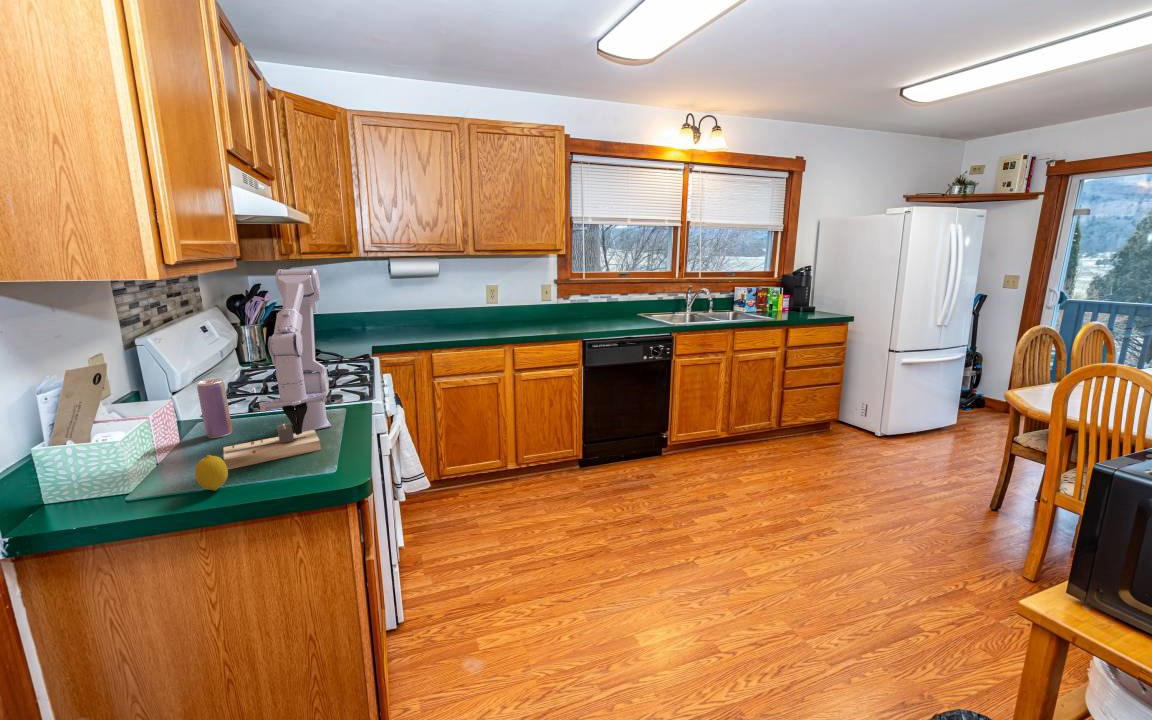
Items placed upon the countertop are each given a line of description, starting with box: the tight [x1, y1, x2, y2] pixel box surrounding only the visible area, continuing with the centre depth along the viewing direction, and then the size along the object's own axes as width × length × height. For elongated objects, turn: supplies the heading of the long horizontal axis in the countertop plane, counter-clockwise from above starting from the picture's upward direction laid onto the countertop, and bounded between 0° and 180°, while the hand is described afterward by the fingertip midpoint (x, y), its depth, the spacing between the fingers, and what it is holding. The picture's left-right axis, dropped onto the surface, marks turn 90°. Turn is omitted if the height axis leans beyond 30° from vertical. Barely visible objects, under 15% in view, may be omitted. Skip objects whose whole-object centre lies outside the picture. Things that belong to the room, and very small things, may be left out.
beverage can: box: [196, 378, 233, 439], centre depth 138 cm, size 6×6×15 cm
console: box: [223, 430, 322, 470], centre depth 127 cm, size 9×20×3 cm, turn 124°
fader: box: [276, 422, 294, 443], centre depth 128 cm, size 4×3×4 cm
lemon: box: [194, 454, 229, 492], centre depth 108 cm, size 6×6×8 cm
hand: (298, 433), depth 130 cm, fingers closed
